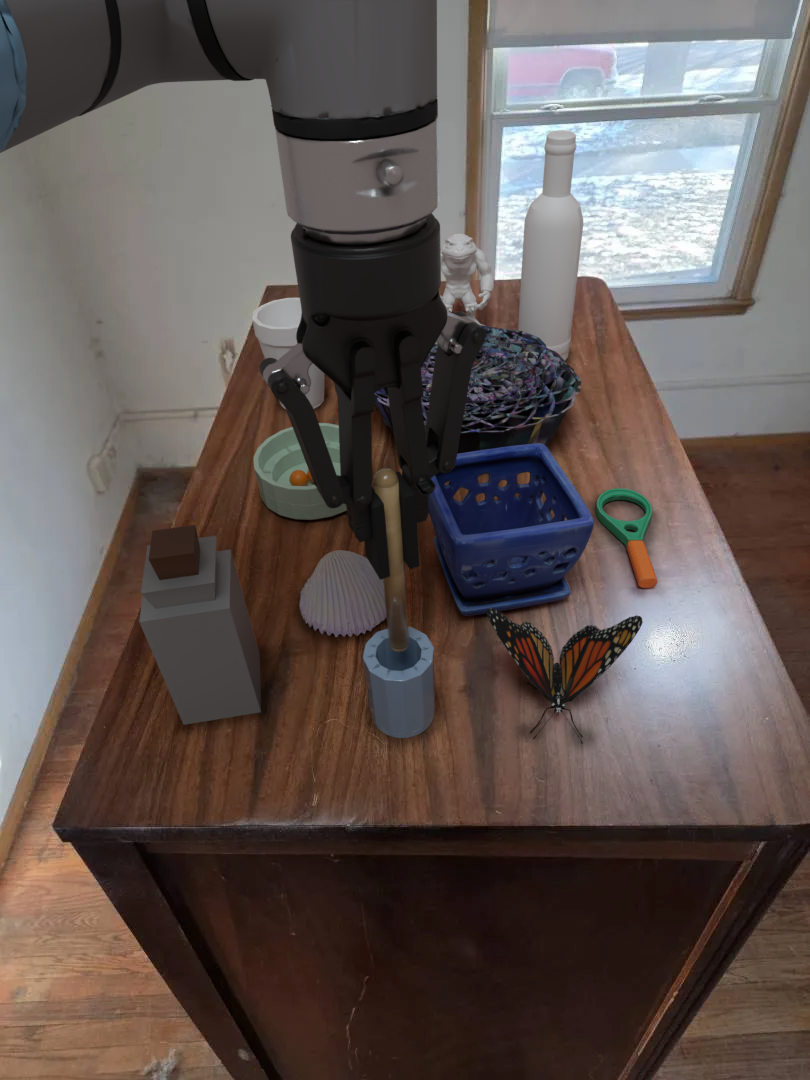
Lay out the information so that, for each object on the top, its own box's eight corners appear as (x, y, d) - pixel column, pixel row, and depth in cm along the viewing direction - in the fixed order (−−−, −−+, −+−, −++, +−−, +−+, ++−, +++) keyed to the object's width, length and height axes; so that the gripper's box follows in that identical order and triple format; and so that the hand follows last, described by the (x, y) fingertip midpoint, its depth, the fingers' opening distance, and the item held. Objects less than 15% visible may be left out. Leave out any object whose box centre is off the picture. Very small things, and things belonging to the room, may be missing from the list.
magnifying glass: (590, 496, 85) (592, 485, 84) (643, 495, 85) (646, 483, 84) (615, 590, 74) (618, 578, 73) (676, 589, 73) (680, 577, 72)
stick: (388, 655, 58) (370, 477, 46) (390, 640, 59) (374, 462, 47) (408, 656, 58) (396, 478, 46) (410, 641, 59) (398, 463, 47)
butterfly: (480, 743, 62) (483, 668, 55) (486, 652, 69) (489, 576, 62) (629, 756, 60) (651, 681, 53) (619, 662, 67) (637, 586, 60)
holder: (366, 736, 62) (358, 678, 57) (375, 683, 67) (368, 624, 61) (432, 740, 62) (430, 682, 57) (437, 686, 66) (435, 627, 61)
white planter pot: (270, 386, 107) (254, 300, 99) (333, 380, 108) (323, 294, 99) (268, 421, 100) (250, 332, 92) (336, 414, 101) (325, 325, 92)
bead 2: (311, 465, 89) (310, 483, 89) (304, 463, 87) (303, 482, 87) (328, 466, 89) (327, 484, 89) (322, 464, 87) (321, 483, 87)
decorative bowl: (485, 370, 111) (484, 306, 105) (620, 441, 92) (628, 368, 86) (338, 426, 102) (327, 359, 95) (456, 518, 83) (452, 442, 76)
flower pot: (536, 526, 82) (545, 436, 74) (583, 612, 72) (599, 519, 64) (420, 547, 80) (417, 457, 72) (452, 637, 70) (452, 545, 62)
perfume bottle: (261, 712, 65) (216, 565, 53) (183, 725, 64) (120, 579, 52) (259, 653, 70) (218, 507, 58) (187, 664, 69) (131, 519, 57)
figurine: (490, 319, 120) (494, 225, 110) (494, 338, 115) (497, 241, 105) (424, 322, 121) (422, 228, 111) (425, 340, 116) (422, 244, 106)
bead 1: (284, 475, 86) (301, 467, 86) (287, 474, 88) (303, 466, 88) (293, 492, 86) (310, 483, 86) (296, 490, 89) (312, 482, 88)
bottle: (527, 338, 115) (542, 123, 95) (576, 348, 112) (602, 128, 92) (507, 361, 110) (519, 139, 90) (557, 372, 107) (581, 144, 86)
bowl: (248, 521, 84) (240, 487, 81) (275, 454, 94) (269, 421, 91) (361, 525, 83) (357, 491, 80) (377, 457, 93) (374, 424, 89)
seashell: (372, 528, 78) (409, 571, 70) (379, 571, 81) (415, 617, 72) (279, 556, 75) (307, 604, 67) (289, 600, 78) (317, 651, 69)
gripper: (240, 273, 32) (311, 631, 48) (531, 212, 36) (508, 561, 52) (203, 222, 37) (278, 560, 53) (461, 174, 41) (459, 502, 57)
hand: (392, 560), depth 52 cm, fingers closed on stick, 1 cm apart
